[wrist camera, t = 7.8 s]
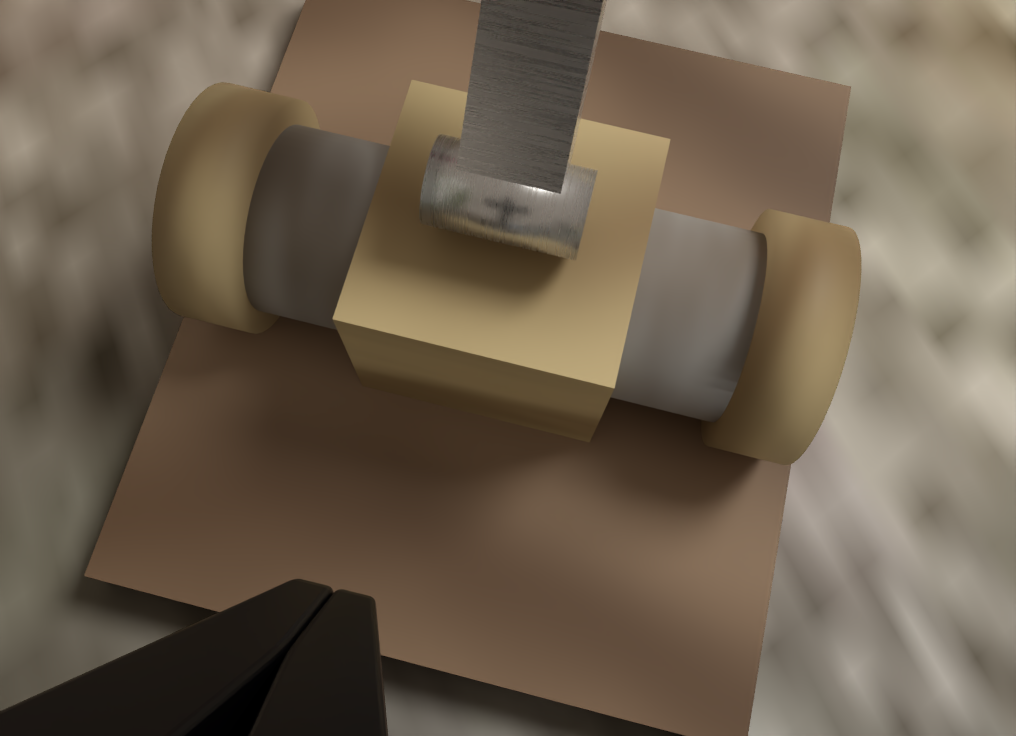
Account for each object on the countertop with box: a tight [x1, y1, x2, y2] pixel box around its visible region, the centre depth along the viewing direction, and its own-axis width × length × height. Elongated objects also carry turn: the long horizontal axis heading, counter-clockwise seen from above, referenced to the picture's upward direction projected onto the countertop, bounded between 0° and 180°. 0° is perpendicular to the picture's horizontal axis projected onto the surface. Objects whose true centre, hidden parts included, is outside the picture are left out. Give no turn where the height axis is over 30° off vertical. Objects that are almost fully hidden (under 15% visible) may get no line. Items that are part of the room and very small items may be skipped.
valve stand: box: [84, 0, 861, 736], centre depth 20 cm, size 16×14×6 cm
